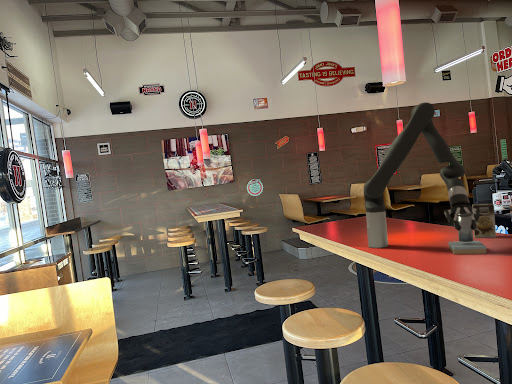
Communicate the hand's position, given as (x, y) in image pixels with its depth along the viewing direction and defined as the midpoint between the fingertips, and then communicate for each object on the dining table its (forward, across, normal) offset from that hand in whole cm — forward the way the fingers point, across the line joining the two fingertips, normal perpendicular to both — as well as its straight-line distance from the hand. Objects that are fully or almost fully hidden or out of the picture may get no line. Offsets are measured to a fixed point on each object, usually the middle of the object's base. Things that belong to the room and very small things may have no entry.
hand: (466, 229), depth 158 cm
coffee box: (-17, +14, +31) cm, 38 cm away
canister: (+2, 0, +5) cm, 6 cm away
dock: (+6, 0, +8) cm, 10 cm away
